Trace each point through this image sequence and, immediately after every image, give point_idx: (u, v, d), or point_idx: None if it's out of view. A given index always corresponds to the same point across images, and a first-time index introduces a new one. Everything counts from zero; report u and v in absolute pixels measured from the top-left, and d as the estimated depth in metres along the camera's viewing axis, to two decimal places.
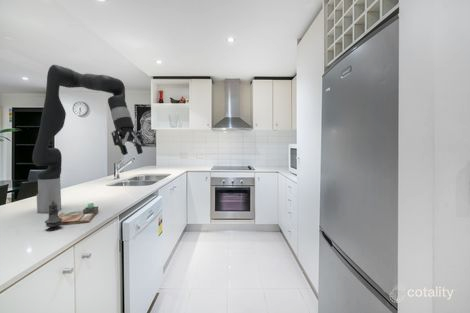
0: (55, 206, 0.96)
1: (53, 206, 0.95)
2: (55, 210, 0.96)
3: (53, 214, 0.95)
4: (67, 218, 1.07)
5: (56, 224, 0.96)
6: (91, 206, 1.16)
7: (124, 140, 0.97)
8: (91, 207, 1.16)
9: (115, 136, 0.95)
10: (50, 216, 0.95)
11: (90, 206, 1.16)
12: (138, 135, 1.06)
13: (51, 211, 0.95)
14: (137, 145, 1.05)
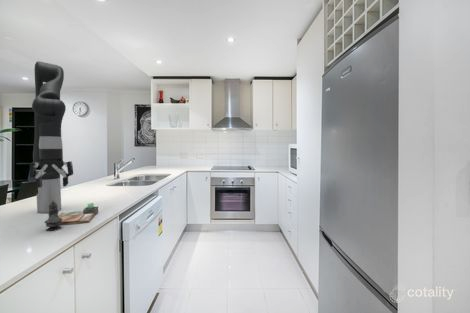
0: (55, 206, 0.96)
1: (53, 206, 0.95)
2: (55, 210, 0.96)
3: (53, 214, 0.95)
4: (67, 218, 1.07)
5: (56, 224, 0.96)
6: (91, 206, 1.16)
7: (39, 173, 0.93)
8: (91, 207, 1.16)
9: None
10: (50, 216, 0.95)
11: (90, 206, 1.16)
12: (67, 166, 0.97)
13: (51, 211, 0.95)
14: None
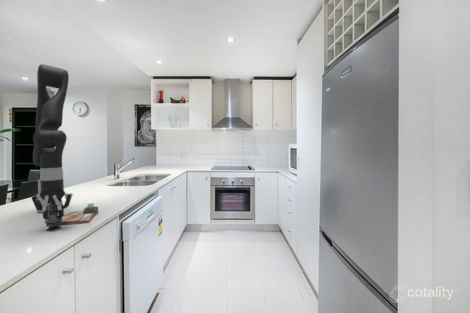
0: (55, 206, 0.96)
1: (53, 206, 0.95)
2: (55, 210, 0.96)
3: (53, 214, 0.95)
4: (67, 218, 1.07)
5: (56, 224, 0.96)
6: (91, 206, 1.16)
7: (44, 206, 0.94)
8: (91, 207, 1.16)
9: None
10: (50, 216, 0.95)
11: (90, 206, 1.16)
12: None
13: (51, 211, 0.95)
14: None
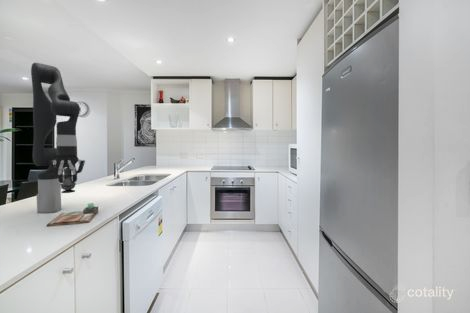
0: (69, 171, 1.05)
1: (68, 170, 1.04)
2: (69, 174, 1.05)
3: (68, 178, 1.04)
4: (67, 218, 1.07)
5: (70, 187, 1.04)
6: (91, 206, 1.16)
7: (60, 170, 1.03)
8: (91, 207, 1.16)
9: None
10: (65, 179, 1.04)
11: (90, 206, 1.16)
12: (79, 163, 1.06)
13: (66, 175, 1.04)
14: None
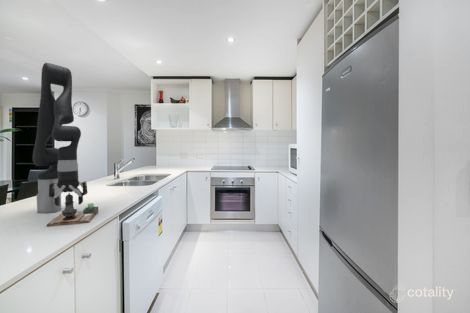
0: (71, 197, 1.06)
1: (69, 197, 1.05)
2: (71, 201, 1.06)
3: (69, 205, 1.05)
4: None
5: (72, 214, 1.05)
6: (91, 206, 1.16)
7: (57, 193, 1.03)
8: (91, 207, 1.16)
9: None
10: (66, 207, 1.05)
11: (90, 206, 1.16)
12: (82, 186, 1.07)
13: (67, 202, 1.05)
14: (79, 195, 1.07)
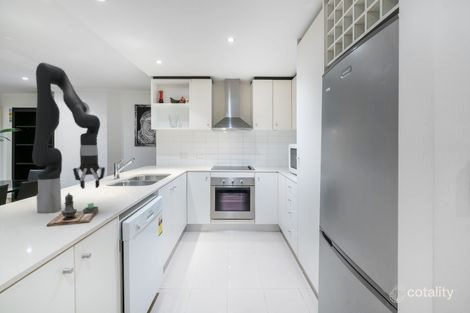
0: (71, 198, 1.05)
1: (69, 198, 1.05)
2: (71, 201, 1.05)
3: (69, 205, 1.05)
4: None
5: (72, 214, 1.05)
6: (91, 206, 1.16)
7: (82, 177, 1.14)
8: (91, 207, 1.16)
9: None
10: (66, 207, 1.05)
11: (90, 206, 1.16)
12: (101, 170, 1.17)
13: (67, 202, 1.05)
14: (96, 180, 1.17)
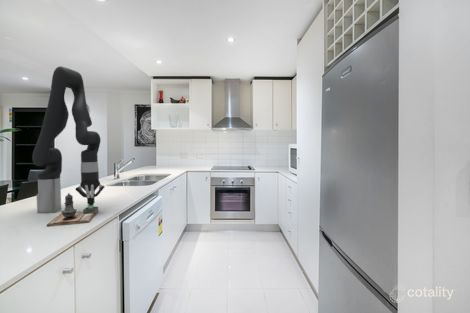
0: (71, 198, 1.05)
1: (69, 198, 1.05)
2: (71, 201, 1.05)
3: (69, 205, 1.05)
4: None
5: (72, 214, 1.05)
6: (91, 207, 1.16)
7: (87, 194, 1.15)
8: (91, 208, 1.16)
9: None
10: (66, 207, 1.05)
11: (90, 207, 1.16)
12: None
13: (67, 202, 1.05)
14: None
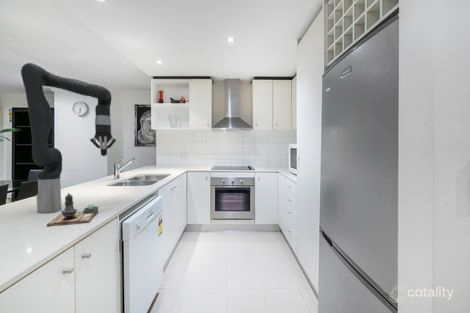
0: (71, 198, 1.05)
1: (69, 198, 1.05)
2: (71, 201, 1.05)
3: (69, 205, 1.05)
4: None
5: (72, 214, 1.05)
6: (91, 208, 1.16)
7: (101, 145, 1.25)
8: None
9: None
10: (66, 207, 1.05)
11: (90, 208, 1.16)
12: (112, 141, 1.27)
13: (67, 202, 1.05)
14: None
